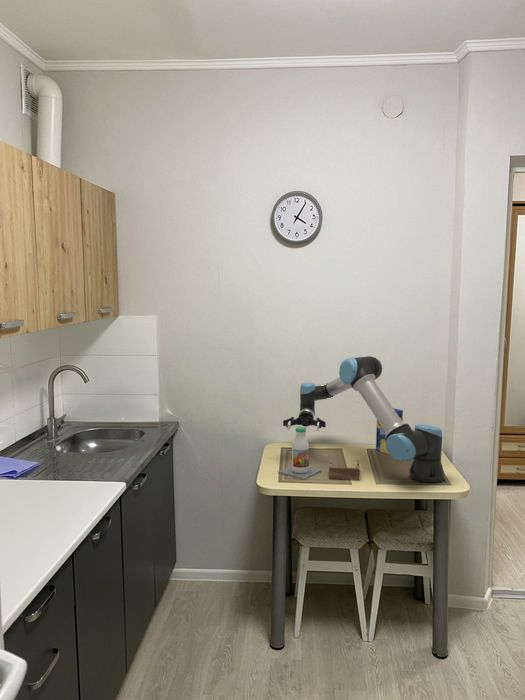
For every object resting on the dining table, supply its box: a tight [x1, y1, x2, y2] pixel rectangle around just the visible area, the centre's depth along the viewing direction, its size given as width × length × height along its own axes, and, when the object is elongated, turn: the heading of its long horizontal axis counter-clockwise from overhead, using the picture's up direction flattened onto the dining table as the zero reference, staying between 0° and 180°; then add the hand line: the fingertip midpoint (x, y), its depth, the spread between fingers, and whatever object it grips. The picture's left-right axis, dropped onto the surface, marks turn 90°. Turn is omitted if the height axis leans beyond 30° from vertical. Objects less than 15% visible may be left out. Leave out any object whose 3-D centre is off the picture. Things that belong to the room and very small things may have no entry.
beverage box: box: [375, 407, 404, 455], centre depth 292 cm, size 7×11×22 cm, turn 38°
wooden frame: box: [328, 458, 360, 481], centre depth 257 cm, size 12×13×5 cm
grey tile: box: [277, 465, 322, 481], centre depth 261 cm, size 14×14×1 cm
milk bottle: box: [291, 426, 310, 473], centre depth 259 cm, size 8×8×20 cm
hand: (303, 427), depth 269 cm, fingers open, 13 cm apart
